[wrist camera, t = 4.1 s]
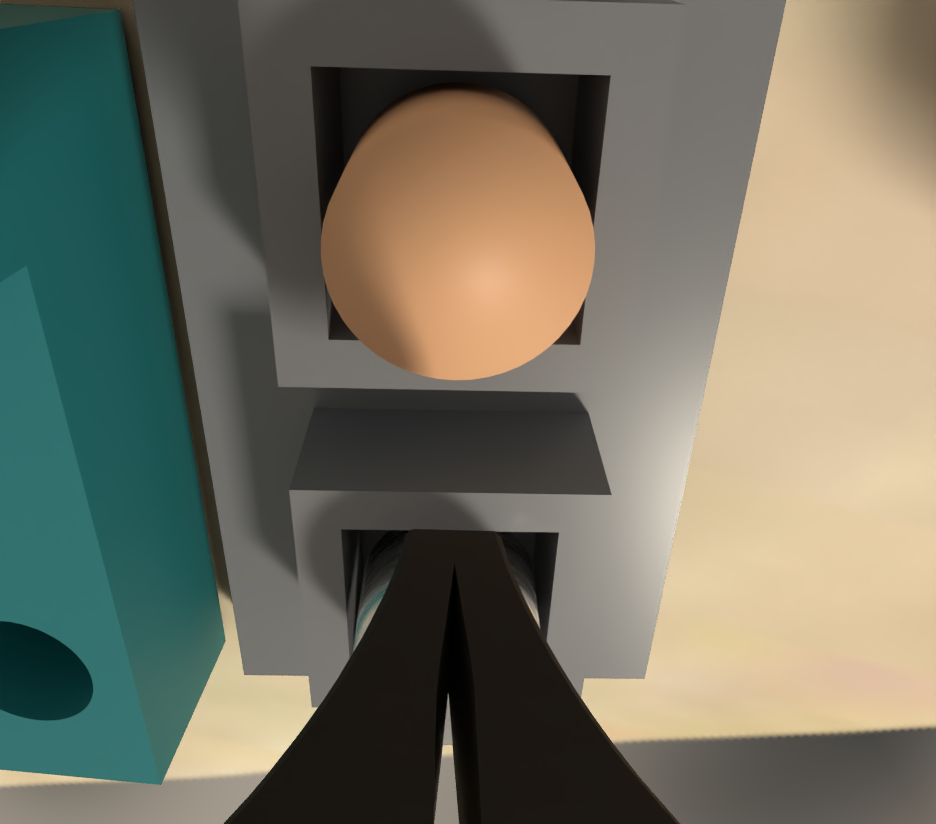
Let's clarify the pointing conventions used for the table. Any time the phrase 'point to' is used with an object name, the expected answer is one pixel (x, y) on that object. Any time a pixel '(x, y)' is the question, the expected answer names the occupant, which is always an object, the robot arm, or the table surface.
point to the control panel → (438, 400)
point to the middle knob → (457, 234)
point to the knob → (383, 568)
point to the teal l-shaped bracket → (91, 424)
